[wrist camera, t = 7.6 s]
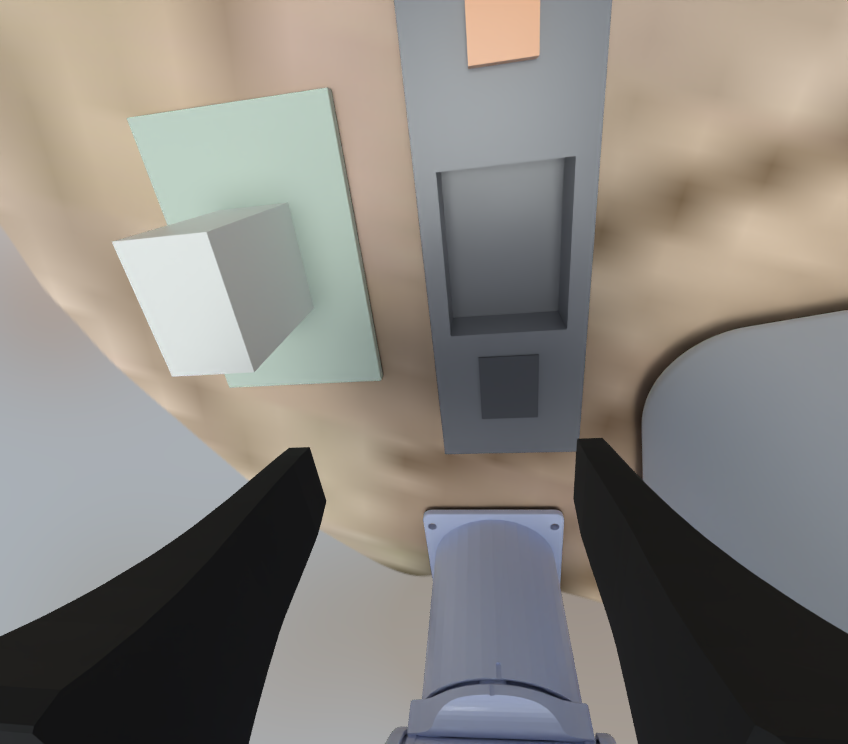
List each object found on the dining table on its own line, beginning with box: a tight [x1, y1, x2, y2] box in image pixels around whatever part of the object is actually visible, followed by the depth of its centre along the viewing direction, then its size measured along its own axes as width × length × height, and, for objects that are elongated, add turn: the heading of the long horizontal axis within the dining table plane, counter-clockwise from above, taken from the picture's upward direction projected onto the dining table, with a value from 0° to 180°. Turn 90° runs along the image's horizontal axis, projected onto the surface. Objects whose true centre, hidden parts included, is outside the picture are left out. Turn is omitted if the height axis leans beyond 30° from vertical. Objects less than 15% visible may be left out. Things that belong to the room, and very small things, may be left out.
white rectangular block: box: [112, 203, 314, 376], centre depth 16 cm, size 4×3×6 cm, turn 7°
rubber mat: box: [127, 88, 383, 388], centre depth 19 cm, size 12×8×1 cm, turn 7°
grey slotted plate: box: [394, 0, 612, 454], centre depth 16 cm, size 18×6×3 cm, turn 7°
